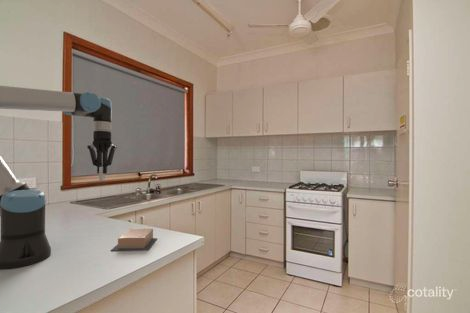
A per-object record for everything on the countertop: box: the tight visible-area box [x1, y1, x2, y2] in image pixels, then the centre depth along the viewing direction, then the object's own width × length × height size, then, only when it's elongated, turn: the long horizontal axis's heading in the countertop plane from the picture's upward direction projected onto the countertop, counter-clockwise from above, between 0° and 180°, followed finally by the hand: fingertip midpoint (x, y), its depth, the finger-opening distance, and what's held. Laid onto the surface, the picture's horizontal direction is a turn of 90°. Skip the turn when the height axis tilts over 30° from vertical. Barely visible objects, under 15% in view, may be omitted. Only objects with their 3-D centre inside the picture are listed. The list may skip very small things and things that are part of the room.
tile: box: [117, 228, 154, 249], centre depth 99 cm, size 4×10×12 cm
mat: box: [110, 237, 158, 252], centre depth 97 cm, size 13×14×1 cm
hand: (102, 180), depth 114 cm, fingers closed
